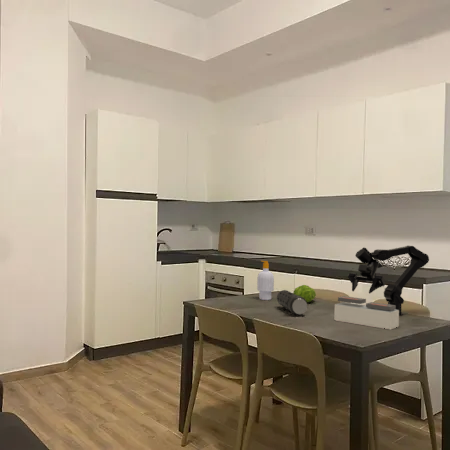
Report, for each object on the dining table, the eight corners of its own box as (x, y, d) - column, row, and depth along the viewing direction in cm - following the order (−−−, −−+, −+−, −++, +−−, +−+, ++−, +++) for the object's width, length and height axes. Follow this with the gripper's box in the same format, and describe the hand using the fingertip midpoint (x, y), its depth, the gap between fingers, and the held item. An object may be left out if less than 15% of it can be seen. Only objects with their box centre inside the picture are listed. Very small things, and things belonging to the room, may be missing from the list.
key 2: (371, 305, 234) (371, 302, 233) (395, 309, 225) (395, 305, 225) (365, 307, 229) (366, 303, 229) (390, 310, 221) (390, 306, 221)
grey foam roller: (292, 307, 275) (292, 289, 275) (308, 317, 247) (309, 297, 247) (276, 307, 273) (276, 289, 273) (291, 317, 245) (291, 297, 245)
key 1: (343, 299, 244) (343, 296, 244) (365, 302, 236) (365, 298, 236) (338, 301, 239) (338, 297, 239) (360, 304, 231) (360, 300, 231)
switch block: (343, 317, 245) (343, 302, 245) (398, 326, 226) (398, 309, 226) (334, 320, 239) (334, 304, 239) (390, 329, 219) (390, 312, 219)
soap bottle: (256, 297, 307) (257, 260, 307) (273, 298, 306) (273, 260, 306) (257, 300, 297) (258, 261, 296) (274, 300, 296) (274, 261, 296)
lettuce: (320, 290, 306) (304, 278, 309) (317, 294, 283) (300, 280, 286) (308, 305, 308) (292, 293, 311) (305, 309, 284) (288, 296, 287)
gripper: (349, 257, 254) (339, 280, 246) (383, 259, 242) (373, 283, 234) (356, 271, 260) (346, 293, 252) (389, 274, 248) (380, 297, 240)
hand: (360, 291), depth 244 cm, fingers open, 9 cm apart
